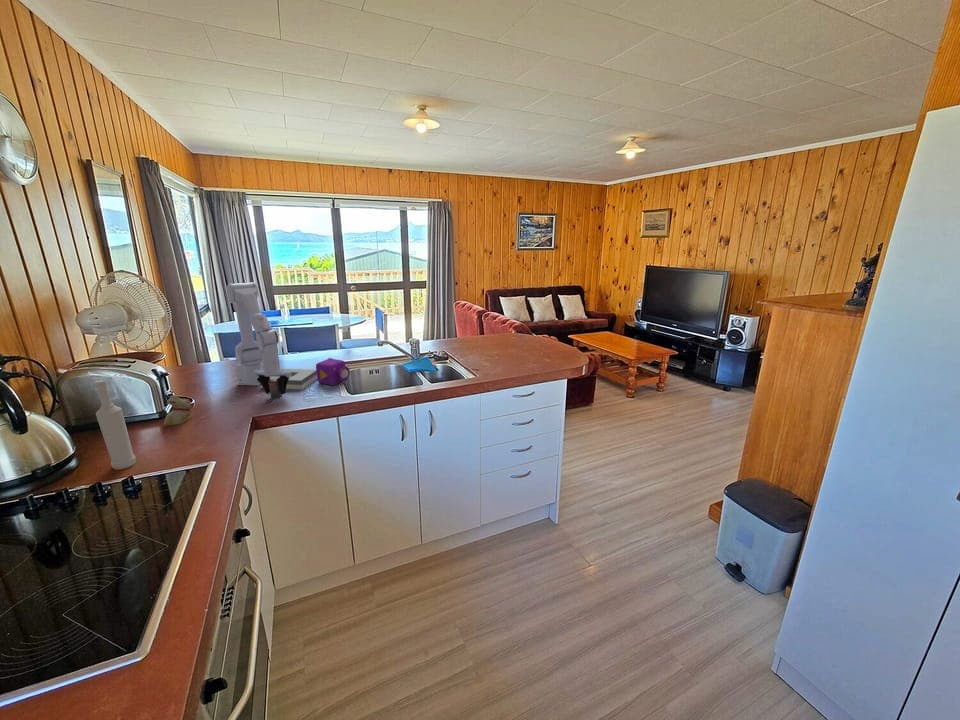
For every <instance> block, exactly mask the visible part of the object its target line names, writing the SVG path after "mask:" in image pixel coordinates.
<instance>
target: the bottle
mask: <svg viewBox="0 0 960 720" xmlns="http://www.w3.org/2000/svg"><path fill="white" fill-rule="evenodd" d="M94 385H95V388H96V390H97V393H98V398H99V401H100V403H101V405H100V408H99V409H98V410H97V411H96V412H95V415H96V419H97V423H98V425H99V428H100V431H101V433H102V437H103V440H104V444H105V446H106V449H107V451H108V454H109V458H110V460H111V461H110V464H111V467H112V469H114V470H125V469H127V468H130V467H132V466H134V465H135V464H136V463H137V460H136V459H137V458H136V455H135V454H134V452H133V448H132V444H131V441H130V437H129V433H128V432H129V431H128V429H127V425H126V421H125V417H124V413H123V409H122V407H120V406H117V405H115V404H114V403H113V402H112V400H111V396H110V393H109V389H108V385H107V382H106V380H105V379H100V380H96V381H94Z"/></svg>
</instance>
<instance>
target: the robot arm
mask: <svg viewBox="0 0 960 720" xmlns="http://www.w3.org/2000/svg"><path fill="white" fill-rule="evenodd" d="M226 293H227V294H226V295H227V299H228V302H229V303H230V304H233V305H234V307H235V312H236V318H237V324H238V330H239V335H240V340H241V341H240V342H239V343H238V344H237V345H236V346H235V348H234V349H235V350H234V351H235V353H234V355H235V356H234V357H235V359H236V362H237V363H238V364H237V365H236V368H235V372H236V373H235V374H236V377H237V384H236V386H237V385H238V386H259V385H260V386H261V385H262V387H263V388H262V387H261V388H262V389H263V391H264V392H265V394H266V395H268V394H269V395H270V389H269V384H268V381H269V380H270V376H277V377H280V378H278V379H277V382H278V384H279V387H280V392H281V395H282V396H283V395H285V394H286V393H287V389H286V386H287V382H288V380H289V377H291V376H292V371H285V370H280V369H281V365H280V357H279V353H278V352H279V351H278V346H277V345H278V344H279V341H280V340H279V335H278V332H277V330H276V329H275V328H274V327H272V325H270V322H269V319H268V317H267V316H266V315H265V314H264V313H263V314H262V311H261V309H260V306H259V303H258V297H259V287H258V286H257V284H256V283H255V282H254V281H251V282H239V283H228V284H227V286H226ZM253 329H254V331H253ZM254 333H255V337H254ZM262 366H263V368H262Z"/></svg>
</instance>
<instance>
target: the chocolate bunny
mask: <svg viewBox="0 0 960 720" xmlns="http://www.w3.org/2000/svg"><path fill="white" fill-rule="evenodd" d="M169 397H170V398H169V399H167V400H166V403H167V404H168V405H170V406H171V407H172V411H170V412H169V413H167V414H166V416H165V419H164V422H163V426H164V427H171V426H175V425H180V424H183V423H186V422H188V421H190V419H191V416H190V414H191V412H192V410H191V403H190V401H189V400H188V399H183V398H180V397H178V396H177V395H174V394H171V395H170V396H169Z"/></svg>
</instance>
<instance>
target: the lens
mask: <svg viewBox="0 0 960 720" xmlns="http://www.w3.org/2000/svg"><path fill="white" fill-rule="evenodd" d="M268 384H269V389H270V393H269V395H270V399H271V398H272V399H271V400H277V398H279V399H281V398H282V397H283V395H281V392H280V387H279V384H278V382H277V379H272V380H269V381H268ZM280 397H281V398H280Z"/></svg>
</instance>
